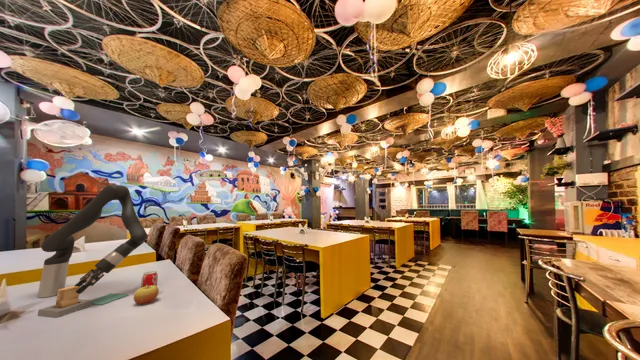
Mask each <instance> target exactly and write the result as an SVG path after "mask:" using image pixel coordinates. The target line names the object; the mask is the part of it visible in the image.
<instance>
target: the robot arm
mask: <svg viewBox="0 0 640 360" xmlns="http://www.w3.org/2000/svg"><path fill="white" fill-rule="evenodd" d="M111 201H118V202H119V203H120V205H121V214H120V217H121V221H122V224H123V225H124V227H125V229H126V230H127V231H128V234H129V236H130V238H129V239H127V241H125V242H124V243H121V244H120V245H119V246H116V248H115V249H114V250H112V251H111V252H110V253H108V254H106V255H105V256H104V257H103V258H101V259H100V260H99V261H98V262H97V263H95V264H94V267H95V269H93V268H92V269H90V270H89V271H87V272H86V274H84V275H83V276H82V277H80V278H79V281H78V282H77V283H75V284H74V285H73V286H80V288H79V289H78V290H77V291H76V293H78V294H79V295H80V294H82V293H83V292H85V291H86V290H87V289H88V288H89V287H94V285H95V284H96V283H98V282H99V281H100V280H101V279H102V278H104V276H105V274H109V273H110V272H111V271H112V270H114V269H115V268H117V266H118V265H119V264H120V263H122V262H123V260H124V259H126V258H127V257H128V256H129V255H130V254H132V253H133V251H134V250H136V249H137V248H139V247H140V246H141V245H143V244H144V243H146V240H147V238H148V233H147V231H146V230H145V228H144V226H143V225H142V224H141V221H140V219H139V217H138V215H137V212H136V210H135V208H134V203H133V200H132V196H131V193H130V190H129V189H128V187H127V186H125V185H120V184H119V185H118V184H107V185H106V186H104V187H103V188H102V189H101V190H100V191H99V192H98V194H96V195H95V197H94V198H93V199H91V201H90V202H88V204H86V205H85V206H84V207H83V208H82V209H80V211H78V212H77V213H76V214H74V216H73V217H72V218H71V219H69V220H68V221H67V222H65V224H64V225H62V226H61V227H59V228H58V229H57V230H56V231H54V232H53V233H51V234H50V235H49V236H47V237H46V238H44V240H43V241H42V243H41V245H40V246H41V250H42V251H43V252H44V253H54V254H53V255H52V256H50V257H48V258H45V260H44V262H43V267H42V271H41V272H42V273H41V277H40V282H39V287H38V292H37V297H38V298H41V299H43V298H48V297H49V298H50V297H54V296H57V293H58V290H59V289H63V288H66V284H67V277H68V272H69V271H68V269H69V264H70V259H71V257H72V255H73V252H74V247H75V243H76V242H75V241H76V240H75V237H74V236H73V235H75V234H77V233H79V232H81V231H83V230H85V229H87V228H89V227H91V226H93V224H94V223H96V222H97V221H98V220H99V219H100V217H102V216H101V215H102V213H103V208H104V207H105V206H106V205H107V204H109V203H110V202H111Z"/></svg>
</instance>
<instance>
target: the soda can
mask: <svg viewBox="0 0 640 360" xmlns="http://www.w3.org/2000/svg"><path fill="white" fill-rule="evenodd" d="M158 275H159V274H158V271H157V270H152V271H146V272H144V273H143V275H142V277H141V282H140V288H142V287H145V286H157V287H158V279H159V278H158Z"/></svg>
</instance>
